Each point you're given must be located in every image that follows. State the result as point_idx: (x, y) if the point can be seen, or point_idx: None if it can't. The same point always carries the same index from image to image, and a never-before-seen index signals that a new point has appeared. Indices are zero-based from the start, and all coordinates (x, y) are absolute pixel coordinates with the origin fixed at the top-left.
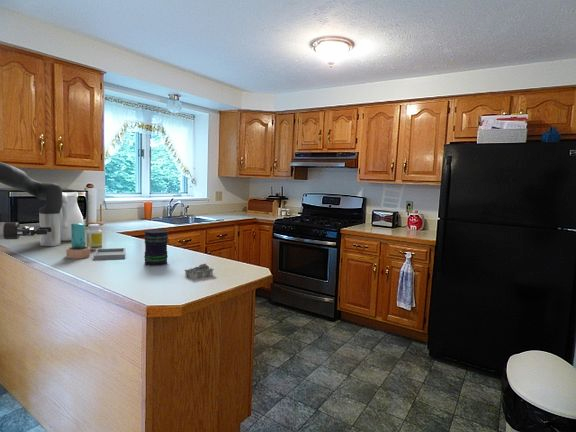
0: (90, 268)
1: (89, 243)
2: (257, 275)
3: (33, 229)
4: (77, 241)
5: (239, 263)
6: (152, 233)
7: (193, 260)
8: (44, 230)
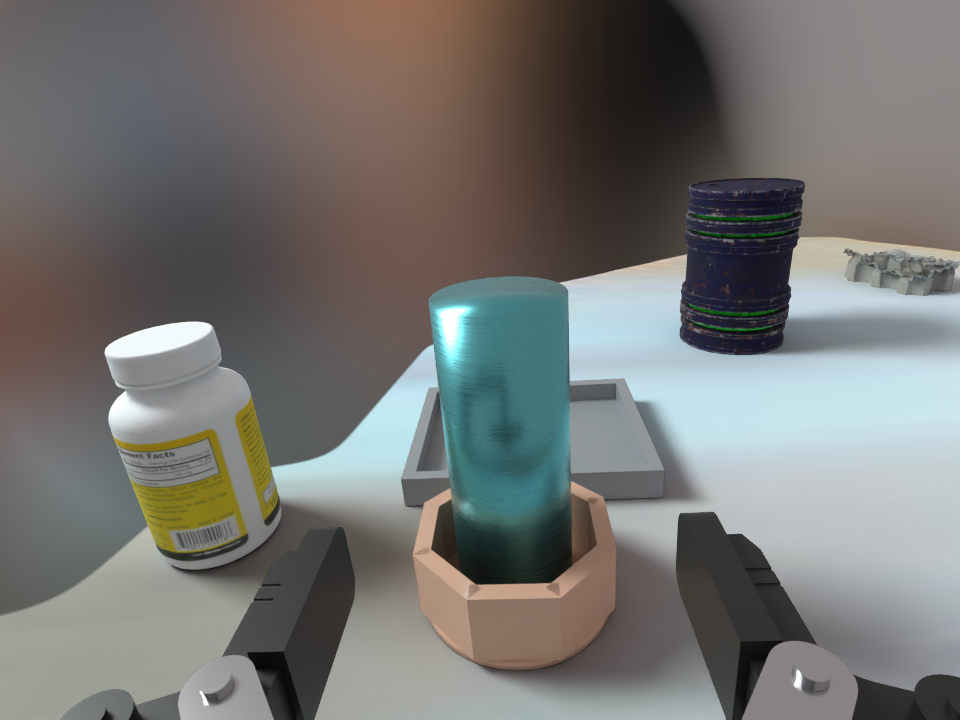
0: (937, 487)
1: (243, 504)
2: (843, 242)
3: (829, 709)
4: (570, 458)
5: None
6: (804, 187)
7: (665, 291)
8: (722, 546)
